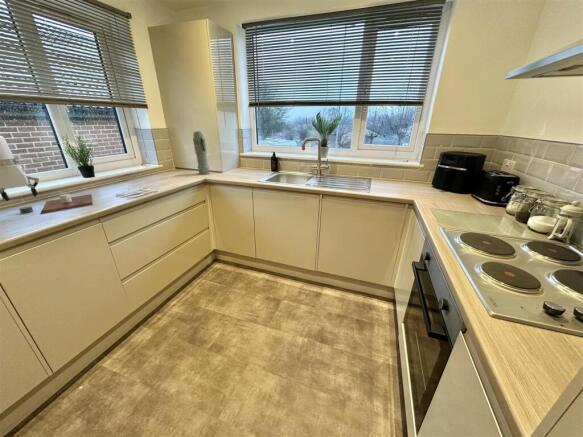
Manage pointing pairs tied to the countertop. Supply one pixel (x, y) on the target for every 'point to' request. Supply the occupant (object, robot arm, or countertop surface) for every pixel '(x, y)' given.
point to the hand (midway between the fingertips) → (22, 198)
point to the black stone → (26, 210)
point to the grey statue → (201, 153)
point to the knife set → (137, 191)
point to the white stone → (65, 198)
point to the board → (67, 204)
